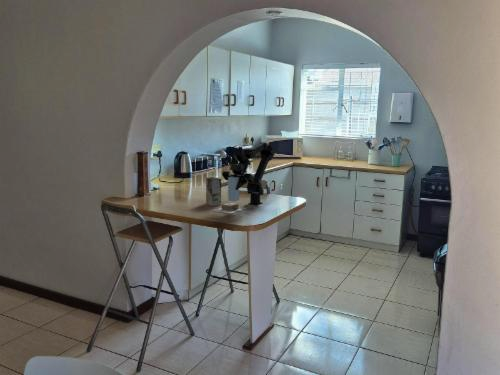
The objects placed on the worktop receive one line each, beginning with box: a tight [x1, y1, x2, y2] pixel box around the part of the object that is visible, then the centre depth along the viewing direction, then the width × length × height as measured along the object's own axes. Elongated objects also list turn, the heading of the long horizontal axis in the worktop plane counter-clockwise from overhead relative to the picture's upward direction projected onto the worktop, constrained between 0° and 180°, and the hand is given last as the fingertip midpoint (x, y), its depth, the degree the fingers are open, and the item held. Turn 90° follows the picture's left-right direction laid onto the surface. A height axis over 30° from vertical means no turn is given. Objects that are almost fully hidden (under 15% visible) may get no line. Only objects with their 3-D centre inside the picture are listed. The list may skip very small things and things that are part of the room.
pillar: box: [227, 177, 240, 202], centre depth 252 cm, size 4×4×13 cm
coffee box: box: [205, 176, 222, 207], centre depth 273 cm, size 9×6×16 cm
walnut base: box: [213, 202, 247, 215], centre depth 260 cm, size 16×12×4 cm
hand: (232, 189), depth 251 cm, fingers closed on pillar, 4 cm apart
